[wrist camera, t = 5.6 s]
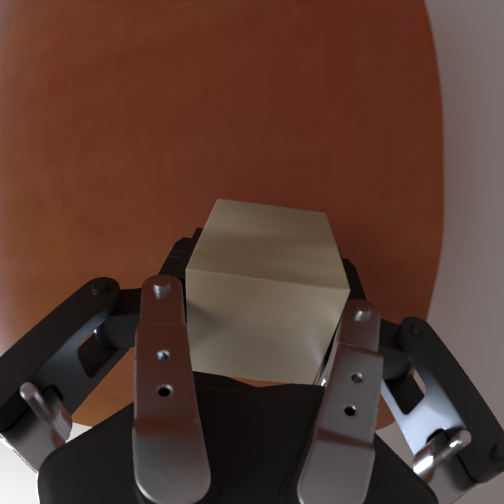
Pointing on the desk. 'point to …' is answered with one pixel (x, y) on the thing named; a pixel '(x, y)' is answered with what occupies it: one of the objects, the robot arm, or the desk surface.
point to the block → (264, 292)
